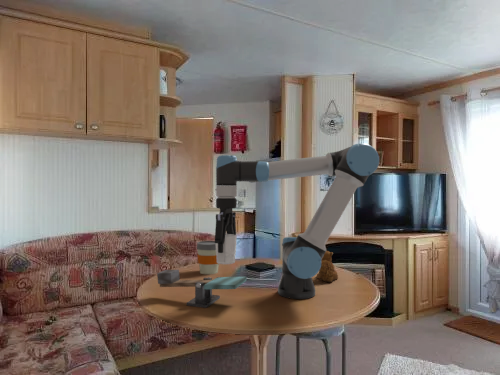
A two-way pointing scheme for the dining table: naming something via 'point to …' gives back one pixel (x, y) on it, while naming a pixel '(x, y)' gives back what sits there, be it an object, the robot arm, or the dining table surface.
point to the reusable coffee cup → (207, 257)
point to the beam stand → (203, 296)
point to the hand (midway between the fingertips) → (225, 259)
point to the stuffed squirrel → (327, 268)
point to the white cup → (228, 249)
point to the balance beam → (172, 280)
